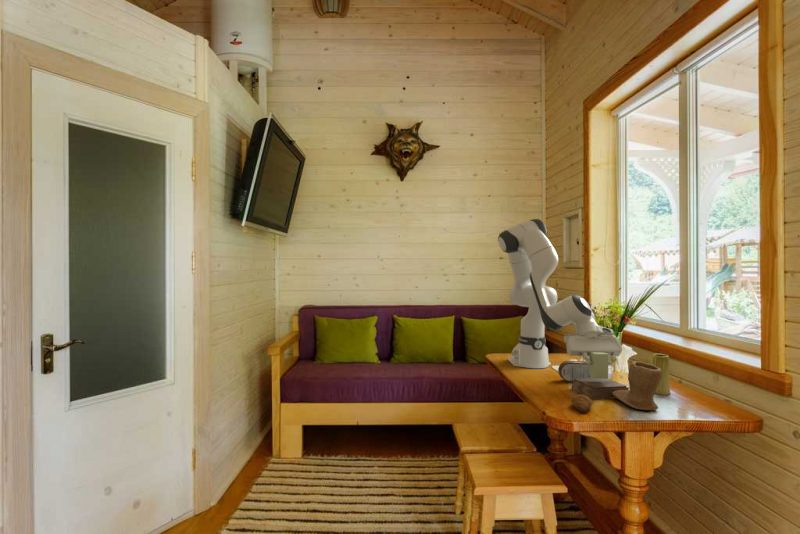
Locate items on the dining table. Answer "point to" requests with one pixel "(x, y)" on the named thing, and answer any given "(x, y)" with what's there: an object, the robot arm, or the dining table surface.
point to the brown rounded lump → (581, 403)
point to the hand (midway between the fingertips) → (599, 364)
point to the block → (598, 365)
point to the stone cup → (641, 386)
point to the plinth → (597, 387)
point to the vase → (663, 364)
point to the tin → (574, 370)
